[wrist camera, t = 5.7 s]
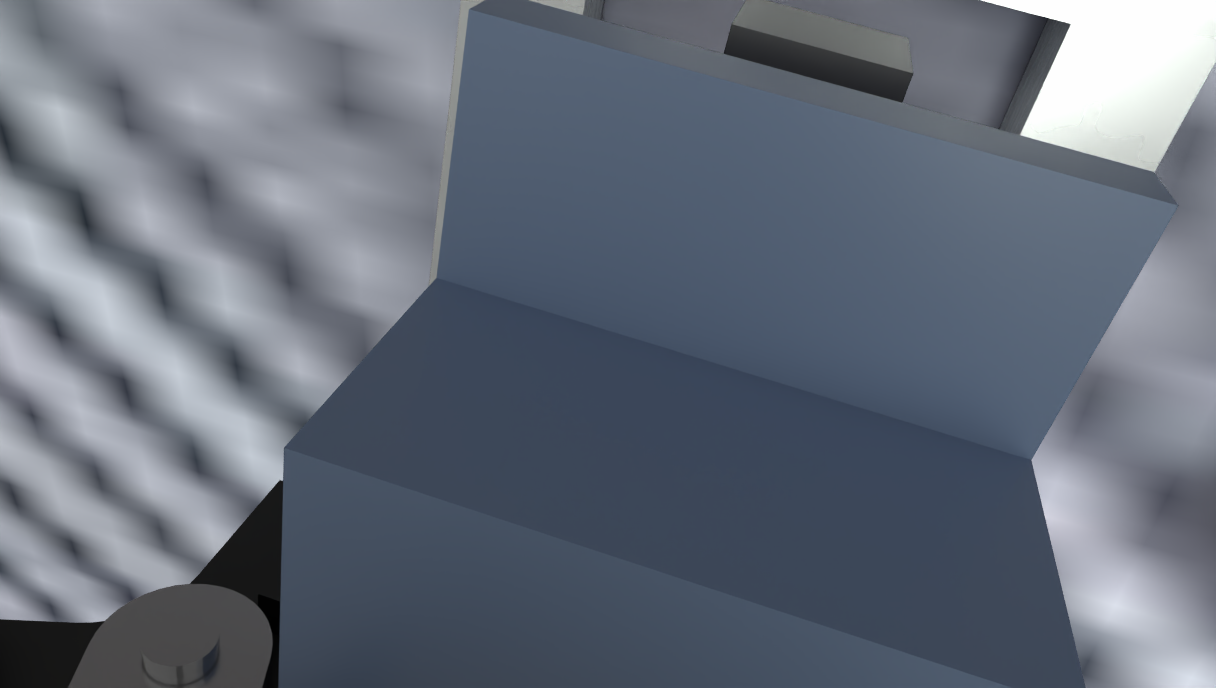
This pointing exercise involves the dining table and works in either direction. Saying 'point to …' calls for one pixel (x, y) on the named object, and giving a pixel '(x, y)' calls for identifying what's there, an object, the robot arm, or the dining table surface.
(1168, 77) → the plate
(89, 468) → the dining table surface
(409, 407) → the block
